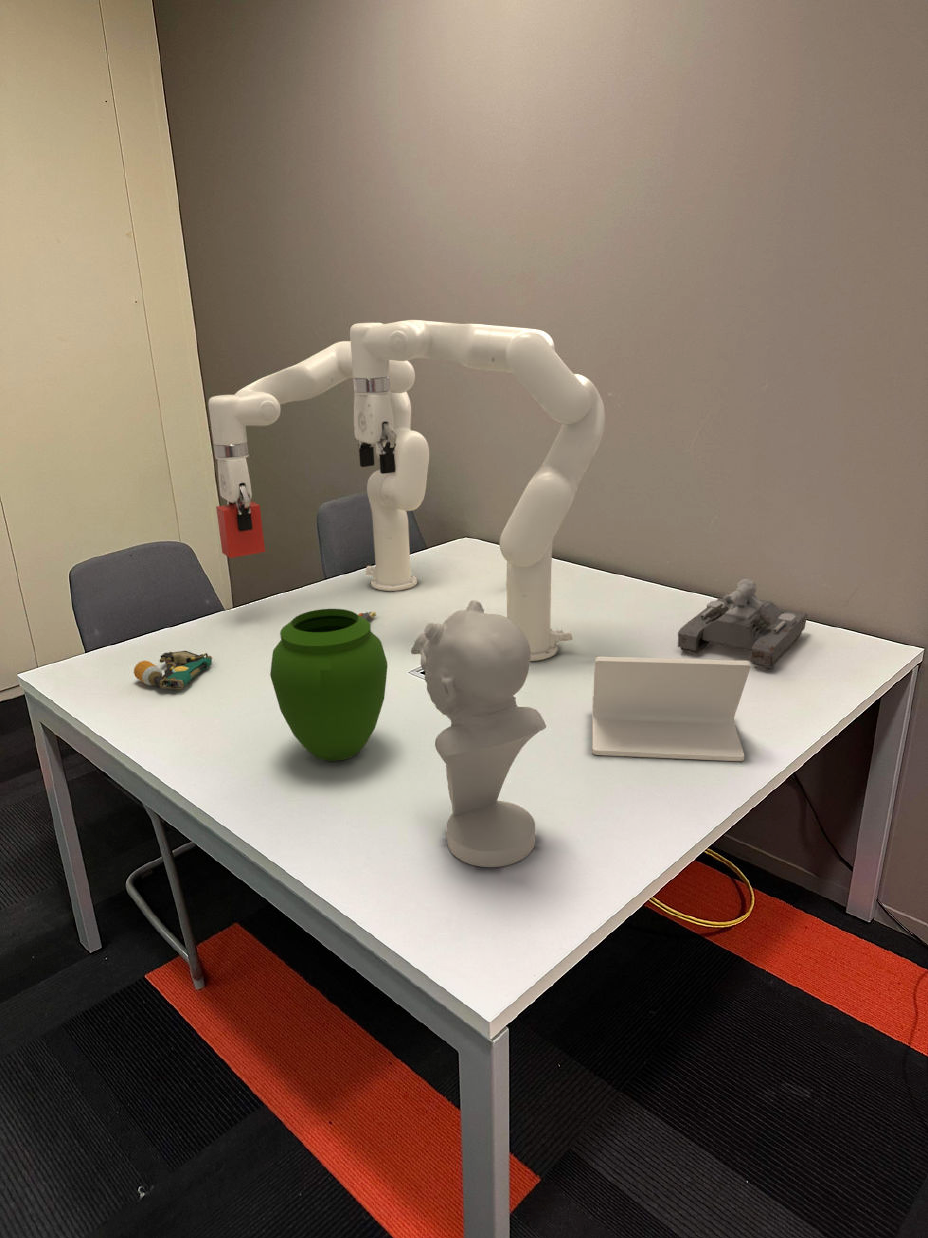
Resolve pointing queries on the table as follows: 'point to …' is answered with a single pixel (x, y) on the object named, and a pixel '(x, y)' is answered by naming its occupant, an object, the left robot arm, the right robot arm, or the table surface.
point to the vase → (330, 681)
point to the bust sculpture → (481, 729)
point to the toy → (744, 626)
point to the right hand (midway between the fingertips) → (377, 469)
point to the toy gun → (367, 615)
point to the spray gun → (172, 669)
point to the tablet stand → (667, 707)
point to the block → (236, 540)
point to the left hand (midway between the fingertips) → (241, 526)
